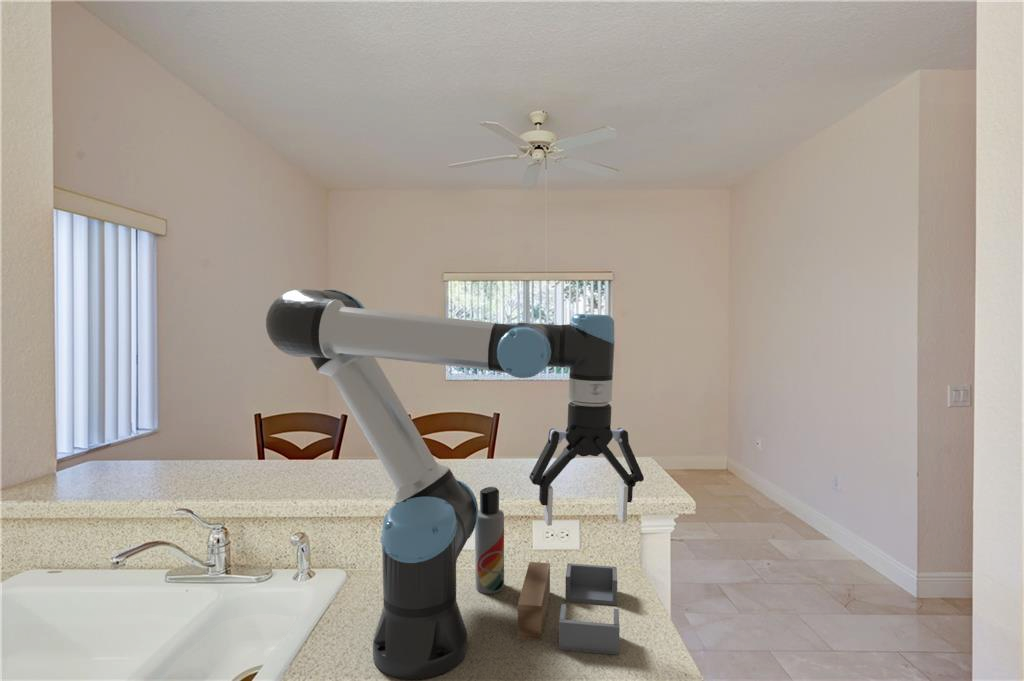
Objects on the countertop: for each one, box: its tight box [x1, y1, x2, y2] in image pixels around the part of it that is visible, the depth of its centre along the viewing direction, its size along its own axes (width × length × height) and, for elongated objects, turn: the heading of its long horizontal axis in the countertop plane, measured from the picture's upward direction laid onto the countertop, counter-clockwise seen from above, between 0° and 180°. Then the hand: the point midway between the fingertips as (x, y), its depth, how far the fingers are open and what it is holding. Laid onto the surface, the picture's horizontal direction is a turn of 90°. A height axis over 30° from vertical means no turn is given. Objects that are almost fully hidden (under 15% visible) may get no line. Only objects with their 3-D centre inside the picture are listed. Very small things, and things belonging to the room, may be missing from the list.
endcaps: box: [558, 563, 620, 656], centre depth 102 cm, size 10×21×5 cm, turn 171°
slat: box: [517, 561, 551, 641], centre depth 103 cm, size 4×16×6 cm, turn 171°
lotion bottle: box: [474, 486, 505, 595], centre depth 112 cm, size 6×6×20 cm
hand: (585, 521), depth 101 cm, fingers open, 13 cm apart
